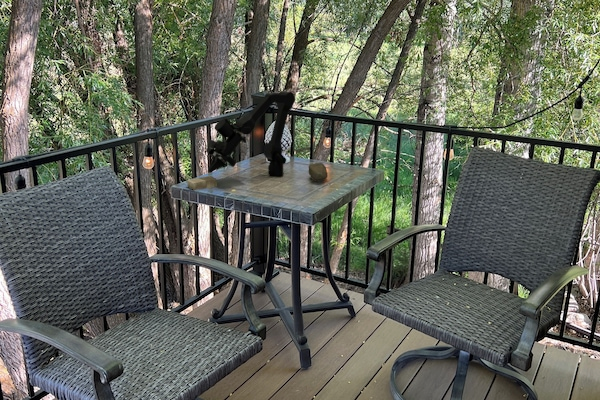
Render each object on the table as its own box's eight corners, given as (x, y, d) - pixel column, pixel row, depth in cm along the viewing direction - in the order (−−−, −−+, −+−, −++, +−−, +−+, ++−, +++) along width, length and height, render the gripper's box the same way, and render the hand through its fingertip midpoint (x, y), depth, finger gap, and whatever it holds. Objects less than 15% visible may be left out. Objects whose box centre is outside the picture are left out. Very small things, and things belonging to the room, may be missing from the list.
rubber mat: (231, 178, 269) (230, 177, 269) (245, 185, 258) (245, 184, 258) (205, 182, 262) (205, 181, 262) (219, 189, 251) (219, 188, 251)
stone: (306, 175, 275) (306, 159, 272) (324, 175, 275) (325, 158, 273) (310, 185, 259) (310, 168, 256) (330, 185, 259) (330, 167, 257)
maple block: (210, 175, 258) (187, 180, 252) (216, 178, 253) (193, 183, 247) (210, 183, 259) (187, 187, 253) (216, 186, 254) (193, 191, 248)
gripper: (209, 129, 259) (187, 156, 256) (228, 136, 244) (206, 165, 241) (225, 144, 265) (204, 171, 263) (245, 152, 251) (223, 180, 248)
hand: (208, 171), depth 253 cm, fingers closed
